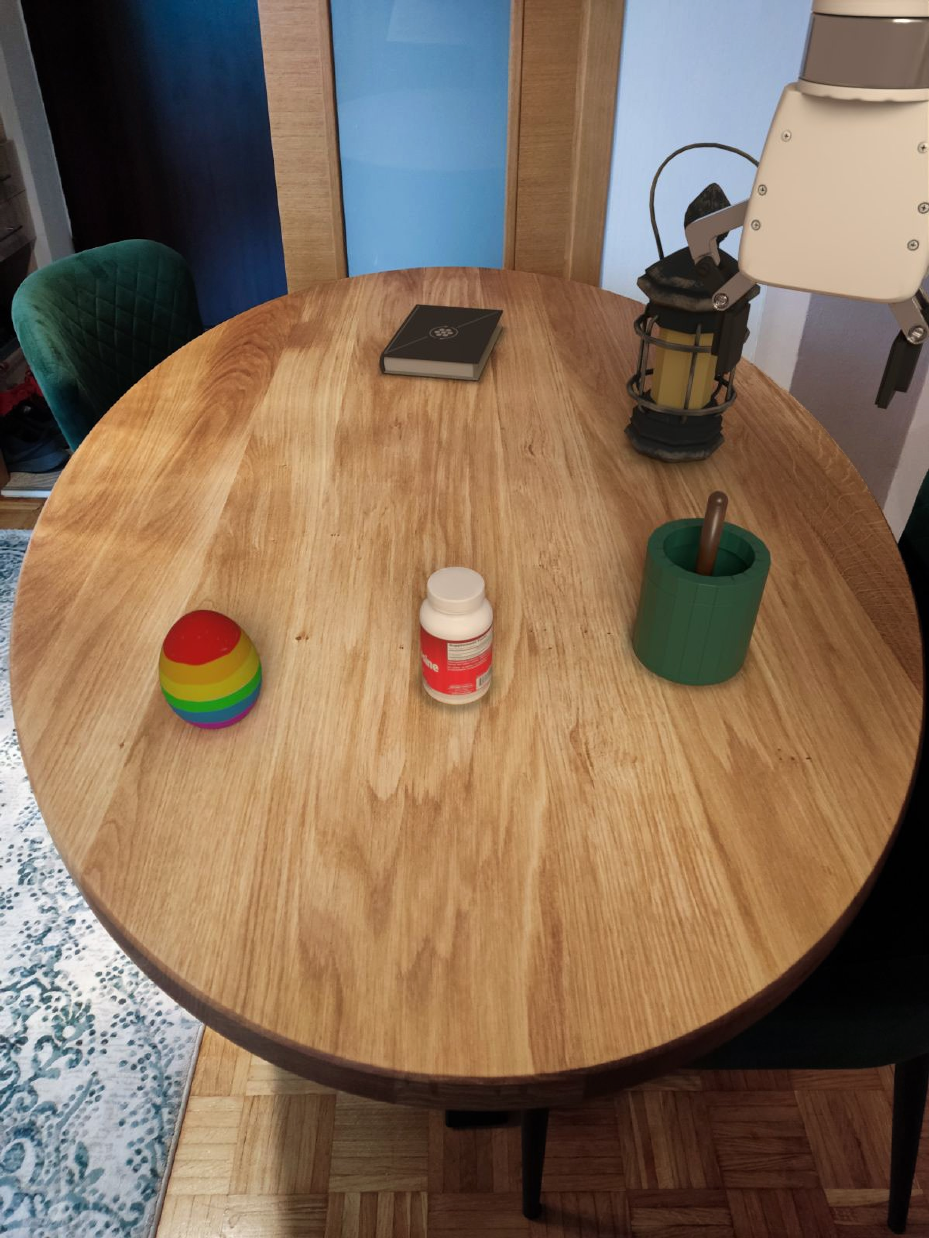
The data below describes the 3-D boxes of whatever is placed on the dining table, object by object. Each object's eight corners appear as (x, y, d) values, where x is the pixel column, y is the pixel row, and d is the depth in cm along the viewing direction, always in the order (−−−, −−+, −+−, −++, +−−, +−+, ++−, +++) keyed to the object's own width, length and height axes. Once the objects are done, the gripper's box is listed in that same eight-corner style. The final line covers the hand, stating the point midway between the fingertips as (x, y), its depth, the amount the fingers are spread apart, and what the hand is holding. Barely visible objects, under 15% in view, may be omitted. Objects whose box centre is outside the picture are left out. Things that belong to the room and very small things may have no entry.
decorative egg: (227, 662, 80) (207, 573, 74) (287, 702, 76) (271, 611, 70) (151, 711, 75) (122, 620, 69) (210, 756, 71) (185, 664, 65)
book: (415, 321, 146) (414, 303, 145) (502, 328, 144) (503, 310, 142) (379, 374, 130) (378, 354, 128) (478, 382, 128) (478, 362, 126)
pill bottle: (418, 663, 80) (413, 564, 73) (484, 656, 81) (486, 557, 74) (426, 711, 75) (422, 609, 68) (497, 703, 76) (500, 602, 69)
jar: (758, 635, 83) (785, 538, 76) (724, 700, 76) (750, 600, 69) (656, 602, 87) (672, 506, 80) (615, 660, 80) (629, 562, 73)
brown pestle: (716, 638, 82) (751, 488, 72) (702, 662, 79) (736, 510, 69) (675, 624, 83) (704, 475, 73) (660, 647, 81) (687, 496, 71)
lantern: (745, 445, 112) (812, 138, 90) (702, 487, 104) (764, 161, 82) (644, 416, 119) (684, 123, 97) (596, 454, 111) (628, 143, 89)
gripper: (1082, 58, 43) (963, 391, 53) (734, 44, 50) (690, 339, 61) (1073, 76, 38) (944, 439, 48) (688, 57, 45) (648, 377, 56)
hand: (803, 383), depth 54 cm, fingers open, 9 cm apart
